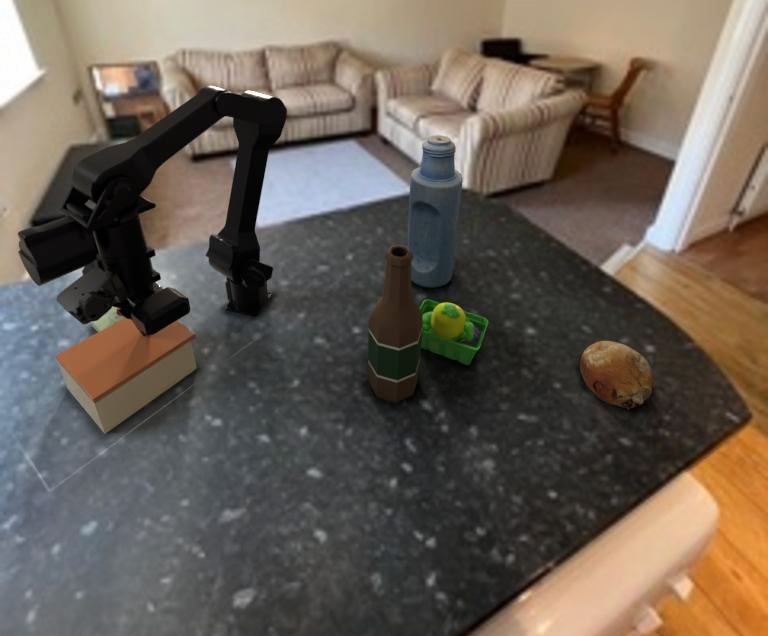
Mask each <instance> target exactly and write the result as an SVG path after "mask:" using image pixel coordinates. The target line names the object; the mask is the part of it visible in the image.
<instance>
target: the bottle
mask: <svg viewBox="0 0 768 636" xmlns="http://www.w3.org/2000/svg"><path fill="white" fill-rule="evenodd" d="M421 149H422V157H421V161H420V166H418V167H417V168H415V169H413V170H412V172H411V174H410V180H409V181H410V183H409V186H410V187H409V200H408V225H407V245H406V247H408V248H409V249H410V250H411V251H412V253H413V257H414V258H413V260H412V262H411V283H413V284H415V285H417V286H419V287H421V288H422V287H423V288H429V289H433V288H439V287H443V286H445V285H447V284H449V282H450V281H451V280H452V278H453V273H454V272H453V271H454V262H455V261H454V260H455V251H456V245H457V236H458V235H457V234H458V225H459V216H460V209H461V199H462V189H463V182H464V180H463V179H464V178H463V175H462V173H461V172H460V171H458V170H457V169H456V164H455V154H456V150H457V147H456V144H455V142H454V141H452V139H451V138H450V137H448V136H446V135H441V134H435V135H431V136H428V137H427V139H425V140H424V141H423V142H422V144H421Z"/></svg>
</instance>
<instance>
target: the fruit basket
mask: <svg viewBox="0 0 768 636" xmlns="http://www.w3.org/2000/svg"><path fill="white" fill-rule="evenodd" d="M419 308H420V311H421V314H422V316H423V330H422V342H421V349H423V350H428V351H430V352H431V353H433V354H437V355H441V356H443V357H445V358H447V359H450V360H453V361H457V362H458V363H460V364H463V365H466V366H469V365H470V364H471V363H472V361H473V359H474V357H475V355H476V353H477V352H479V350H480V348H481V346H482V342H483V339H484V336H485V334H486V331H487V328H488V325H489V320H488V319H487V318H486V317H484V316H481V315H478V314H475V313H471V312H469V311H465V310H463V309H462V308H461V307H460V306H459V305H458V304H455V303H452V302H447V301H446V302H437V301H435V300H432V299H424V300H423V302H422V303H421V305H420V306H419Z"/></svg>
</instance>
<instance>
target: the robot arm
mask: <svg viewBox="0 0 768 636" xmlns="http://www.w3.org/2000/svg"><path fill="white" fill-rule="evenodd" d="M287 116H288V108H287V107H286V105H285V104H284V102H283V101H282V100H281V99H280V97H277V96H273V95H268V94H265V93H261V92H258V91H254V90H246V91H243V92H242V93H241V94H239V93H236V92H231V91H230V90H228V89H224V88H221V87H218V86H213V85H206V86H204V87H201V88H200V89H199V90H198V92H197V93H196V94H195V95H194V96H192V97H191V98H189V99H188V100H187V101H185V102H183V104H181V105H180V106H177V108H175V109H174V110H172V111H171V112H170V113H168V114H167V115H165V116H164V117H163V118H161V119H159V120H158V121H156V123H154V124H152V125H151V126H150V127H148V128H147V129H146V130H144V131H143V132H141V133H140V134H139V135H137V136H135V137H134V138H132V139H130V140H127V141H125V142H121V143H118V144H114V145H110V146H108V147H105V148H103V149H100V150H98V151H96V152H94V153H92V154H89V155H87V156H86V157H84V158H82V159H81V160H80V161H79V162H78V163H76V164H75V165H74V168H72V177H71V181H72V183H71V186H70V188H69V190H68V192H67V194H66V196H65V198H64V200H63V202H62V204H61V206H60V208H59V211H60V212H61V213H62V214H63V215H65V216H64V217H60V218H58V219H55V220H52V221H49V222H46V223H44V224H40V225H38V226H32V227H28V228H25V229H23V230H19V231H18V232H17V236H18V239H19V241H18V248H19V250H18V252H17V253H18V256H19V258H20V261H21V262H22V265H23V266H24V268H25V270H26V272H27V273H28V275H29V277H30V279H31V280H32V281H33V282H34V284H35V285H37V286H38V287H41V286H43V285H46V284H47V283H50V282H52V281H54V280H56V279H59V278H61V277H64V276H66V275H69V274H70V273H73V272H76V271H77V270H80V269H82V270H81V273H82V275H81V276H80V277H78V278H77V279H75V280H74V282H72V283H70V284H69V285H68V286H67V287H66V288H64V289H63V290H61V292H60V293H59V294H58V295H57V296H56V298H55V299H56V302H57V303H58V304H59V305H60V306H61V307H62V308H63V309H64V310H65V311H66V312H67V313H69V315H71V316H72V317H73V318H74V319H76V321H78V322H79V323H80V324H82V325H88V324H90V323H92V321H97V320H99V319H100V318H101V317H102V316H103V315H105V314H107V313H109V310H110V309H111V308H112V306H113V307H116V308H121V309H119V310H118V312H120V313H121V314H122V315H123V316H124V317H125V318H127V319H130V320H132V322H133V323H134V325H135V326H136V327H137V329H138V330H139V332H140V333H141V334H142V335H143V336H145V335H154V334H155V333H157V332H159V331H160V330H162V329H164V328H165V327H167V326H168V325H170V324H172V323H173V322H175V321H177V320H178V321H179V320H180V319H182V318H183V317H185V316H187V315H188V314H190V313H191V303H190V299H189V298H188V297H187V296H186V295H185V294H183V293H181V292H180V291H179V290H177V289H176V288H173V287H169V286H167V287H165V288H164V287H163V286H162V285H160V284H159V283H158V281H161V280H162V276H161V273H160V272H159V271H157V270H156V269H154V268H153V263H152V259H151V258H154V257H156V256H157V255H156V250H155V249H154V248H153V247H152V246H151V245H149V244H148V241H147V236H146V231H145V229H144V228H145V227H144V223H143V219H142V215H141V214H143V213H147V212H149V211H151V210H153V209H155V208H156V206H157V204H156V203H155V202H153V201H152V200H149V199H148V198H147V197H144V196H142V194H143V193H144V191H146V189H148V188H149V187H150V185H151V184H152V182H153V179H154V177H155V175H156V172H157V171H158V170H159V169H160V168H161V167H162V165H164V164H165V163H166V162H167V161H169V160H170V159H171V158H172V157H174V156H175V155H177V154H178V153H179V152H180V151H181V150H183V149H185V148H186V147H187V146H188V145H190V144H191V143H192V142H193V141H195V140H196V139H197V138H199V137H200V136H201V135H203V134H204V133H205V132H206V131H208V130H209V129H210V128H212V127H213V126H215V125H216V124H217V123H218V122H219V121H220V120H222V119H223V118H225V117H228V118H232V127H233V131H234V133H235V137H236V139H237V143H238V144H237V145H238V147H237V152H236V153H237V154H236V159H235V164H234V171H233V177H232V183H231V187H230V188H231V189H230V195H229V201H228V206H227V212H226V217H225V224H224V226H223V227H222V228H221V229H220V231H219V232H218V233H217V234H210V236H209V238H208V242H209V243H208V249H207V252H206V253H205V256H206V257H207V258H208V264H209V266H210V267H212V269H213V270H215V271H217V272H218V273H219V274H221V275H223V276H225V277H226V281H225V282H224V284H225V291H226V297H227V301H228V303H227V304H226V305H225V307H224V309H225V311H227V312H232V313H236V314H237V313H238V314H241V315H246V316H252V317H257V316H259V314H260V313H261V312H262V310H263V309H264V307H265V306H266V305H267V304H268V302H269V301H270V299H271V298H272V296H273V295H274V294H273V291H270V290H268V281H269V280H271V279H272V277H273V271H274V267H273V266H272V265H270V264H268V263H266V262H264V261H263V260H261V246H260V243H259V239H258V237H257V233H256V225H257V219H258V214H259V208H260V202H261V197H262V191H263V186H264V181H265V175H266V169H267V164H268V159H269V155H270V153H269V152H270V150H271V149H272V147H273V146H274V145H275V144H276V142H278V140H279V139H280V138H281V136H282V134H283V130H284V127H285V124H286V122H287ZM88 201H90V202H91V203H93V204H95V206H94V208H93V209H92V208H91V207H89V206H88V205H87V204H86V203H88Z"/></svg>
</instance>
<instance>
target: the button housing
mask: <svg viewBox="0 0 768 636" xmlns="http://www.w3.org/2000/svg"><path fill="white" fill-rule="evenodd" d="M124 318H125V317H124V316H121V315H120V314H119V312H118V308H116V307H113V306H112V308H111V309H110V310H109V311H108V312H107V313H106V314H105V315H103V316H102V317H101V318H100V319H99V320H97V321H91V325H92V327H93V328H94V330H96V332H97V333H98V332H100V331H102V330H103V329H105V328H107V327H109V326H111V325H113V324H114V323H116V322H118V321H120V320H122V319H124Z"/></svg>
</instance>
